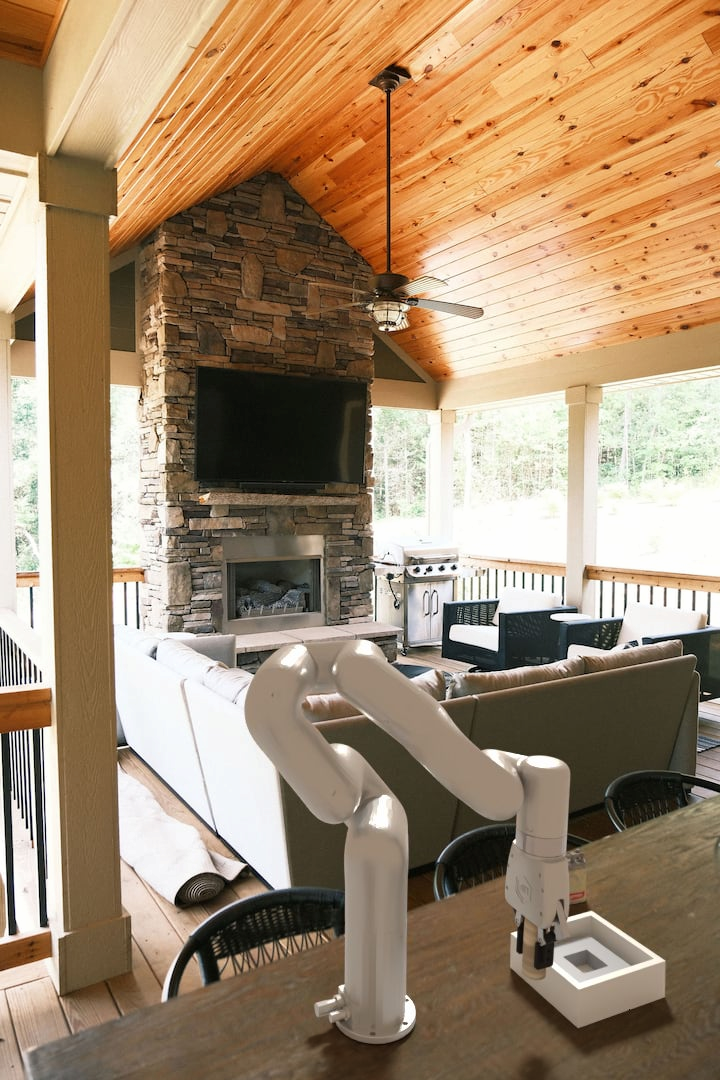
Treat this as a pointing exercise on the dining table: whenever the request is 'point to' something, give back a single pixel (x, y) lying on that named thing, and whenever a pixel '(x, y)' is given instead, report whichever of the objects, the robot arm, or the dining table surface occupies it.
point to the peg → (530, 952)
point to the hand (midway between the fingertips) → (534, 958)
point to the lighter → (576, 876)
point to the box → (596, 971)
